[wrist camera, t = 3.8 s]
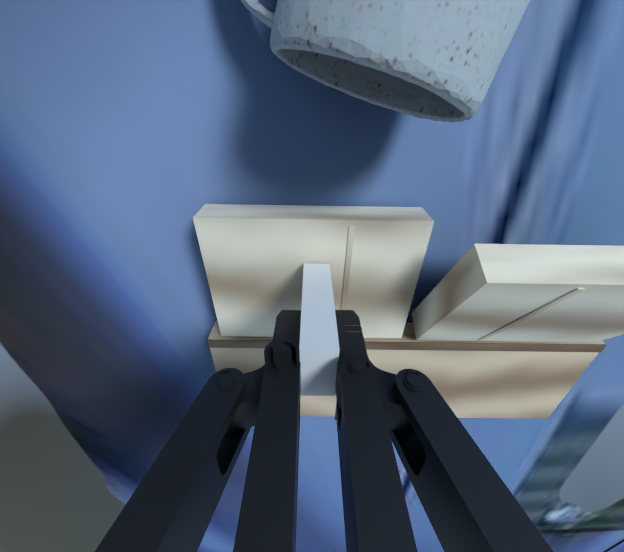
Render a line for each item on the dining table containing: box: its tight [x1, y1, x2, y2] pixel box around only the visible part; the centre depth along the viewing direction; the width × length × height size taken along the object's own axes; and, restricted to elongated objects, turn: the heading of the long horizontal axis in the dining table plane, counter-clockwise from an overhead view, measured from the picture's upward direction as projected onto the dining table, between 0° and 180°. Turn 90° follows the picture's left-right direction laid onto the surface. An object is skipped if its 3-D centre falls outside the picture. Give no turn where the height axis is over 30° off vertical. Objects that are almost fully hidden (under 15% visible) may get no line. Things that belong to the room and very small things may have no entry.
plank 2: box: [412, 244, 624, 342], centre depth 16 cm, size 9×12×2 cm
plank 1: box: [193, 204, 434, 338], centre depth 18 cm, size 9×12×2 cm
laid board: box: [207, 320, 606, 418], centre depth 23 cm, size 9×28×2 cm, turn 89°
